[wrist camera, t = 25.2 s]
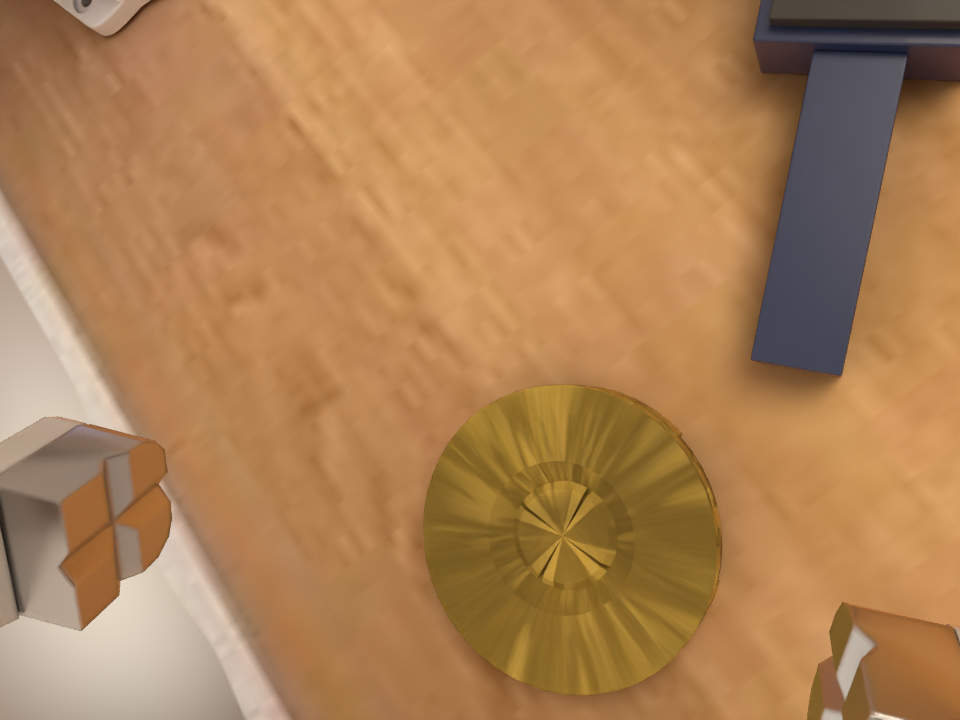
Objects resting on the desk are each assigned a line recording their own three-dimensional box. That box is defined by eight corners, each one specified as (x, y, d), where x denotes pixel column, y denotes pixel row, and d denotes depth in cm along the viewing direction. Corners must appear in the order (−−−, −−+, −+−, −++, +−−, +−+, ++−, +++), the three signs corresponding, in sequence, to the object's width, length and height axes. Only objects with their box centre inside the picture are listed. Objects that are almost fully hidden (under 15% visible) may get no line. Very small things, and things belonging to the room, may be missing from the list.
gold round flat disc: (478, 690, 35) (457, 708, 33) (421, 421, 37) (397, 423, 35) (760, 659, 31) (754, 678, 29) (680, 353, 32) (670, 351, 30)
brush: (901, 388, 29) (909, 387, 26) (704, 352, 32) (687, 347, 28) (1020, -177, 28) (1046, -258, 25) (807, -161, 31) (803, -233, 27)
